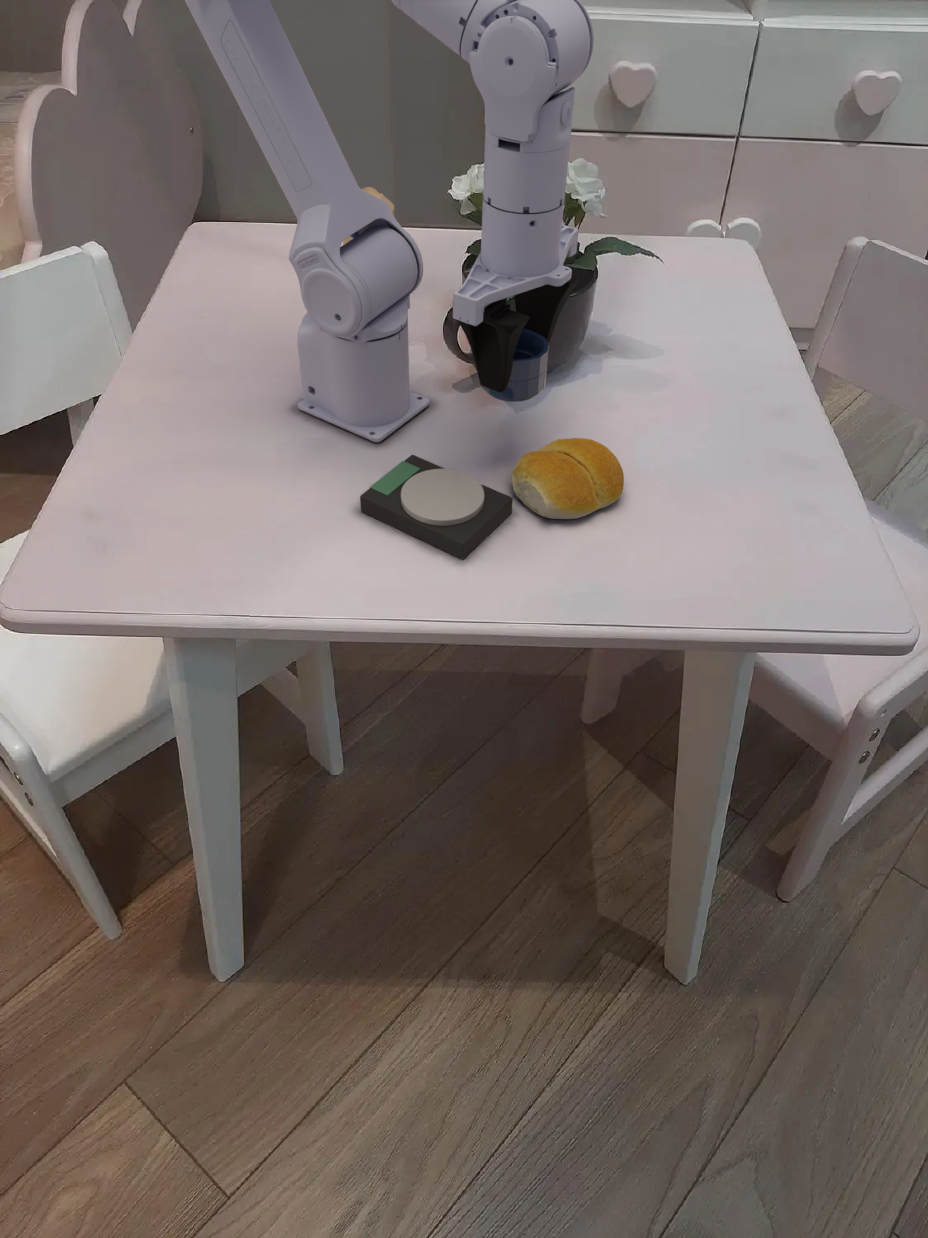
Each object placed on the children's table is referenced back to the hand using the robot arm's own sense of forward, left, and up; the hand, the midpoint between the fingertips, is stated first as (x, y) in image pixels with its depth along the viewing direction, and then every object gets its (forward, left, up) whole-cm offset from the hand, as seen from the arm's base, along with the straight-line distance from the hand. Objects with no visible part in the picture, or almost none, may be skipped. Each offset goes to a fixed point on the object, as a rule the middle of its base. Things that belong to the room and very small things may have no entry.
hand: (512, 370), depth 75 cm
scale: (0, -10, -8) cm, 13 cm away
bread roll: (+7, -1, -9) cm, 11 cm away
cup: (0, 0, -1) cm, 1 cm away
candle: (-29, +18, -8) cm, 35 cm away
